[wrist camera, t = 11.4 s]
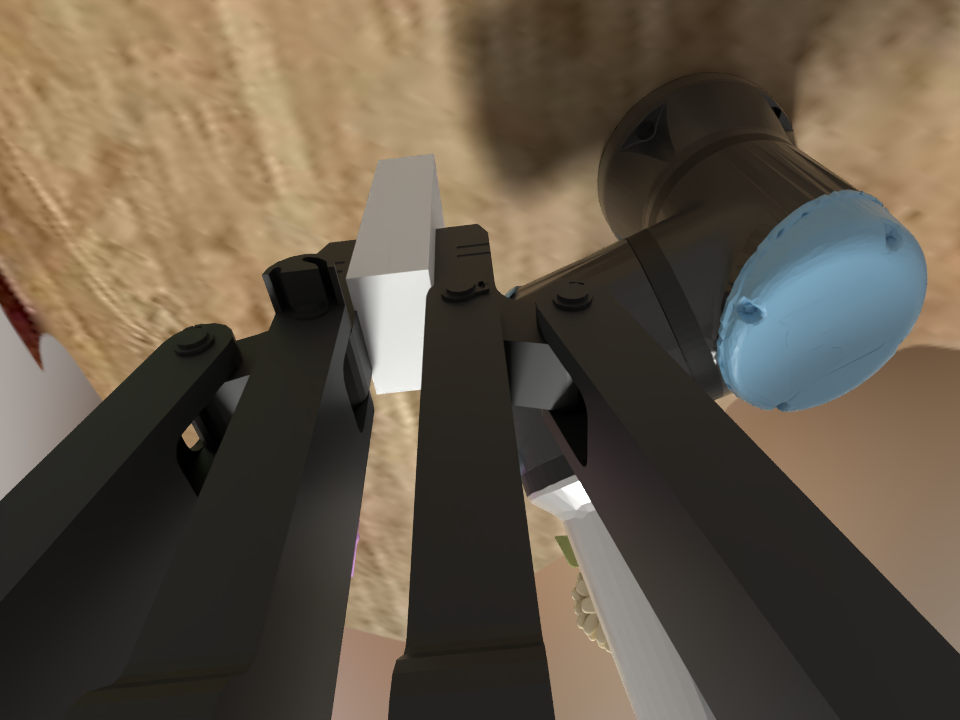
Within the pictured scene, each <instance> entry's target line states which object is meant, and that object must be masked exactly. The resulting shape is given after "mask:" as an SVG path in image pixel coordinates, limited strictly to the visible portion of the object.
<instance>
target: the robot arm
mask: <svg viewBox="0 0 960 720" xmlns="http://www.w3.org/2000/svg"><path fill="white" fill-rule="evenodd" d="M598 196H599V202H600V206H601V209H602V212H603V215H604V217H605V219H606V221H607V223H608V225H609V226H610V228H611V230H612V232H613V233H614V235H615V236H616V238H617V239H618V240H619V241H617V242H615V243H613V244H611V245H609V246H607V247H605V248H603V249H601V250H599V251H597V252H595V253H592V254H590V255H588V256H586V257H584V258H582V259H580V260H578V261H576V262H574V263H571V264H569V265H567V266H565V267H563V268H561V269H558V270H556V271H554V272H552V273H550V274H548V275H545V276H543V277H541V278H539V279H537V280H534V281H532V282H530V283H528V284H526V285H524V286H516V287H514V288H512V289H511V290H509V291H508V292H507V293H506V294H505V296H504V295H502V294H501V293H500V292H499V291H498V290H497V289H496V286H495V282H494V274H493V267H492V260H491V252H490V245H489V237H488V232H487V231H486V230H484V229H483V228H482V227H481V226H480V225H478V224H473V225H464V226H456V227H447V228H445V226H444V219H443V212H442V205H441V199H440V192H439V185H438V178H437V171H436V165H435V158H434V154H427V155H418V156H410V157H401V158H393V159H385V160H378V164H377V168H376V171H375V175H374V178H373V182H372V186H371V189H370V193H369V197H368V200H367V204H366V207H365V211H364V215H363V218H362V222H361V226H360V229H359V233H358V236H357V240H349V241H341V242H332V243H329V244H328V245H326V246H325V247H324V248H323V249H322V250H321V251H320V252H318V253H317V254H303V255H298V256H293V257H290V258H287V259H284V260H282V261H279V262H277V263H275V264H274V265H272V266H270V267H269V268H267V270H266V271H265V272H264V273H263V274H262V277H263V280H264V282H265V285H266V288H267V291H268V293H269V296H270V299H271V302H272V304H273V307H274V310H275V313H276V314H275V317H274V319H273V321H272V324H271V326H270V329H269V331H266V332H263V333H261V334H258V335H254V336H251V337H247V338H244V339H241V340H237V341H236V339H235V337H234V334H233V332H232V330H231V329H230V328H229V327H227V326H226V325H222V324H216V323H212V324H199V325H195V326H194V327H193V326H191V327H188V328H185V329H184V330H183V331H181V332H179V333H177V334H175V335H173V336H172V337H170V338H169V339H168V340H166V341H165V342H164V343H163V344H161V345H160V346H159V347H158V348H157V349H156V350H155V351H154V352H153V353H152V354H151V355H150V356H149V357H148V358H147V359H146V360H145V361H144V362H143V363H142V364H141V365H140V366H139V367H138V368H137V369H136V370H135V371H134V372H133V373H132V374H131V375H130V376H128V377H127V378H126V379H125V380H124V381H123V382H122V383H121V384H120V385H119V386H118V387H117V388H116V389H115V390H114V391H113V392H112V393H111V394H110V395H109V396H108V397H107V398H106V399H105V400H104V401H103V402H102V403H101V404H100V405H99V406H98V407H97V408H96V409H94V410H93V411H92V412H91V413H90V414H89V416H87V417H86V418H85V419H84V420H83V421H82V422H81V423H80V424H79V425H78V426H77V427H76V428H75V429H74V430H73V431H72V432H71V433H70V434H69V435H68V436H67V437H66V438H65V439H63V440H62V442H60V443H59V444H58V445H57V446H56V447H55V448H54V449H53V450H52V451H51V452H50V453H49V454H48V455H47V456H46V457H45V458H44V459H43V460H42V461H41V462H40V463H39V464H38V465H37V466H36V467H35V468H34V469H33V470H32V471H30V472H29V473H28V474H27V475H26V476H25V478H23V479H22V480H21V481H20V482H19V483H18V484H17V485H16V486H15V487H14V488H13V489H12V490H11V491H10V492H9V493H8V494H7V495H6V496H5V497H4V498H3V499H2V500H1V501H0V720H331V716H332V709H333V702H334V694H335V688H336V680H337V673H338V666H339V658H340V651H341V645H342V638H343V630H344V623H345V616H346V609H347V602H348V595H349V588H350V581H351V573H352V566H353V559H354V552H355V545H356V538H357V531H358V523H359V516H360V509H361V502H362V495H363V488H364V481H365V473H366V466H367V459H368V452H369V445H370V438H371V431H372V424H373V416H374V405H373V401H372V397H371V394H370V390H369V388H370V382H371V376H372V378H373V382H374V386H375V389H376V393H377V394H384V393H393V392H402V391H412V390H421V395H420V413H419V430H418V448H417V466H416V484H415V501H414V519H413V537H412V554H411V572H410V590H409V608H408V625H407V639H406V648H405V652H404V655H402V656H401V657H400V658H399V659H397V660H396V664H395V667H394V671H393V674H392V683H391V691H390V700H389V714H388V720H555V715H554V707H553V700H552V693H551V686H550V679H549V671H548V664H547V657H546V651H545V645H544V642H543V637H542V631H541V624H540V616H539V608H538V601H537V593H536V586H535V578H534V571H533V563H532V555H531V548H530V540H529V533H528V525H527V517H526V510H525V502H524V495H523V487H522V484H523V486H524V489H525V492H526V495H527V498H528V500H529V502H530V503H532V504H534V505H536V506H538V507H540V508H542V509H544V510H546V511H548V512H550V513H552V514H554V515H555V516H556V517H557V518H558V519H560V520H561V521H562V523H563V525H564V528H565V531H566V533H567V536H568V539H569V541H570V544H571V547H572V549H573V552H574V555H575V557H576V560H577V563H578V565H579V568H580V571H581V573H582V576H583V579H584V581H585V584H586V587H587V589H588V592H589V595H590V597H591V600H592V603H593V605H594V608H595V611H596V613H597V616H598V619H599V621H600V624H601V626H602V629H603V632H604V634H605V637H606V640H607V642H608V645H609V648H610V650H611V653H612V655H613V658H614V661H615V664H616V666H617V669H618V672H619V674H620V677H621V680H622V682H623V685H624V688H625V690H626V693H627V696H628V698H629V701H630V704H631V706H632V709H633V711H634V714H635V717H636V720H960V654H959V653H958V652H957V651H956V650H955V649H954V648H953V647H952V646H951V645H950V644H949V643H948V642H947V641H946V639H944V637H942V635H941V634H940V633H939V632H938V631H937V630H936V629H935V628H934V627H933V626H932V625H931V624H930V623H929V622H928V621H927V620H926V619H925V618H924V617H923V616H922V615H921V614H920V613H919V612H918V611H917V610H916V609H915V608H914V606H913V605H912V604H910V602H909V601H908V600H907V599H906V598H905V597H904V596H903V595H902V594H901V593H900V592H899V591H898V590H897V589H896V588H895V587H894V586H893V585H892V584H891V583H890V582H889V581H888V580H887V579H886V578H885V577H884V576H883V574H882V573H880V571H879V570H878V569H877V568H876V567H875V566H874V565H873V564H872V563H871V562H870V561H869V560H868V559H867V558H866V557H865V556H864V555H863V554H862V553H861V552H860V551H859V550H858V549H857V548H856V547H855V546H854V545H853V544H852V543H851V542H850V541H849V539H848V538H847V537H846V536H845V535H844V534H843V533H842V532H841V531H840V530H839V529H838V528H837V527H836V526H835V525H834V524H833V523H832V522H831V521H830V520H829V519H828V518H827V517H826V516H825V515H824V514H823V513H822V512H821V511H820V510H819V508H818V507H816V505H814V503H813V502H812V501H811V500H810V499H809V498H808V497H807V496H806V495H805V494H804V493H803V492H802V491H801V490H800V489H799V488H798V487H797V486H796V485H795V484H794V483H793V482H792V481H791V480H790V479H789V478H788V477H787V476H786V474H785V473H784V472H782V471H781V469H780V468H779V467H778V466H777V465H776V464H775V463H774V462H773V461H772V460H771V459H770V458H769V457H768V456H767V455H766V454H765V453H764V452H763V451H762V450H761V449H760V448H759V447H758V446H757V445H756V443H754V441H753V440H752V439H751V438H750V437H749V436H748V435H747V434H746V433H745V432H744V431H743V430H742V429H741V428H740V427H739V426H738V425H737V424H736V423H735V422H734V421H733V420H732V419H731V418H730V417H729V416H728V415H727V414H726V413H725V412H724V410H723V409H722V408H721V407H720V406H719V405H718V404H717V403H716V402H715V401H714V400H716V399H719V398H721V397H724V396H727V395H729V394H732V393H734V394H735V395H736V397H738V398H741V399H742V400H744V401H746V402H747V403H749V404H751V405H752V406H755V407H757V408H760V409H763V410H772V409H774V408H775V407H777V408H778V409H779V410H780V411H782V412H792V411H800V410H804V409H808V408H812V407H816V406H819V405H822V404H825V403H827V402H829V401H832V400H834V399H836V398H838V397H840V396H842V395H844V394H845V393H848V392H849V391H851V390H853V389H854V388H856V387H857V386H859V385H860V384H862V383H863V382H864V381H866V380H867V379H868V378H870V377H871V376H872V375H873V374H875V373H876V372H877V371H878V370H879V369H880V368H881V367H882V366H883V365H884V364H885V363H886V362H887V361H888V360H889V359H890V358H891V357H892V356H893V355H894V354H895V353H896V349H897V347H898V346H899V344H900V343H901V342H902V341H903V340H904V339H905V338H906V337H907V336H908V335H909V333H910V332H911V330H912V328H913V327H914V325H915V323H916V321H917V319H918V316H919V314H920V312H921V309H922V306H923V302H924V299H925V295H926V289H927V266H926V261H925V257H924V254H923V251H922V249H921V247H920V245H919V243H918V242H917V240H916V239H915V237H914V236H913V235H912V234H911V233H910V232H909V230H908V229H906V228H905V227H904V226H903V225H902V224H901V223H900V222H899V221H898V220H897V219H896V218H895V217H893V216H892V215H891V214H890V213H889V211H888V210H887V208H885V207H883V203H881V202H880V201H879V200H877V198H875V197H873V196H872V195H870V194H867V193H864V192H863V191H859V190H858V189H856V188H855V187H854V186H852V185H851V184H849V183H848V182H846V181H845V180H843V179H842V178H840V177H839V176H837V175H836V174H835V173H833V172H832V171H830V170H829V169H827V168H826V167H824V166H823V165H821V164H820V163H819V162H817V161H816V160H814V159H813V158H811V157H810V156H808V155H807V154H805V153H804V152H802V151H801V150H800V149H799V148H798V145H797V141H796V138H795V135H794V132H793V129H792V126H791V123H790V121H789V119H788V117H787V115H786V113H785V112H784V110H783V109H782V107H781V106H780V105H779V104H778V102H777V101H776V100H775V99H774V98H773V97H772V96H771V95H769V94H768V93H767V92H766V91H764V90H762V89H761V88H759V87H758V86H756V85H754V84H753V83H751V82H749V81H747V80H745V79H743V78H740V77H738V76H734V75H730V74H725V73H700V74H694V75H690V76H686V77H682V78H679V79H677V80H674V81H672V82H669V83H667V84H665V85H663V86H661V87H660V88H658V89H656V90H655V91H653V92H652V93H650V94H649V95H647V96H646V97H645V98H643V99H642V100H641V101H640V102H639V103H637V104H636V105H635V106H634V107H633V108H632V109H631V110H630V111H629V112H628V113H627V115H626V116H625V117H624V118H623V119H622V121H621V122H620V123H619V125H618V126H617V128H616V129H615V131H614V132H613V134H612V136H611V138H610V140H609V141H608V144H607V146H606V148H605V151H604V153H603V156H602V160H601V163H600V168H599V174H598ZM191 423H192V425H193V427H194V429H195V431H196V433H197V434H198V436H199V438H200V439H199V440H198V441H197V443H196V444H195V445H194V446H193V447H192V448H189V447H187V445H186V443H185V442H184V440H183V438H182V434H183V432H184V431H185V430H186V429H187V428H188V426H189V425H190V424H191Z"/></svg>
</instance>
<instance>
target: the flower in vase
mask: <svg viewBox="0 0 960 720" xmlns="http://www.w3.org/2000/svg"><path fill="white" fill-rule="evenodd" d="M555 539H556V540H557V542H558V544H559V546H560V547H561V549H562V551H563V553H564V555H565V558H566V560H567V562H568V563H569V565H570V566H571V567H579V565H578V563H577V560H576V557H575V555H574V552H573V549H572V547H571V544H570V541H569V539H568V536H556V537H555ZM577 580H578V581H577V582H576V587H575V588H574V589H573V590H572V597H573V599H574V600H575V601H577V603H576V604H575V606H574V610H575V613H576V614H577V615H579V616H578V618H577V625H578V627H579V628H581V629H584V632H585V634H586V635H588V637H589V639H590V640H592V641H594V640H597V642H598V645H599V646H600V647H601V648H603V649H604V648H605V649H606V651H608V652H609V653H611V650H610V648H609V645H608V642H607V640H606V637H605V634H604V632H603V629H602V626H601V624H600V621H599V619H598V616H597V613H596V611H595V608H594V605H593V603H592V600H591V597H590V595H589V592H588V589H587V587H586V584H585V581H584V579H583V576H582V573H581V572H580V573H579V574H578V577H577Z"/></svg>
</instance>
